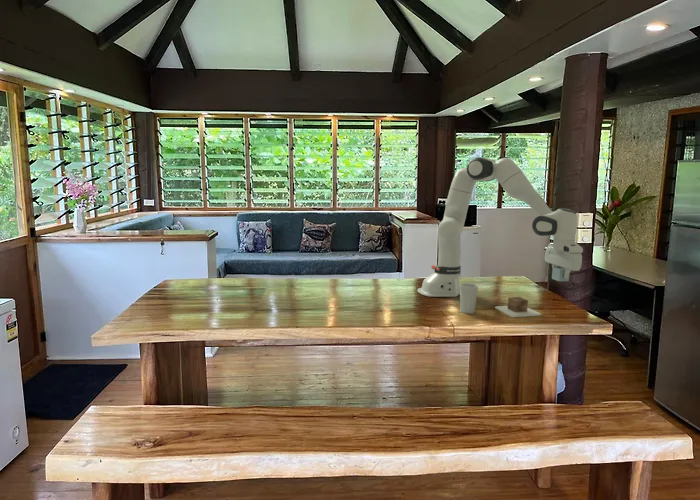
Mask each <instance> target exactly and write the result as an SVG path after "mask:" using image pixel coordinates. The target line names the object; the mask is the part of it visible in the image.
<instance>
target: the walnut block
mask: <svg viewBox="0 0 700 500" xmlns="http://www.w3.org/2000/svg"><path fill="white" fill-rule="evenodd" d="M528 305H529V300H528V299H526V298H523V297H521V296H515V297H513V296H512V297H508V301H507V306H508V309H510V310H512V311H514V312H524V311H527V308H529V306H528Z"/></svg>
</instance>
